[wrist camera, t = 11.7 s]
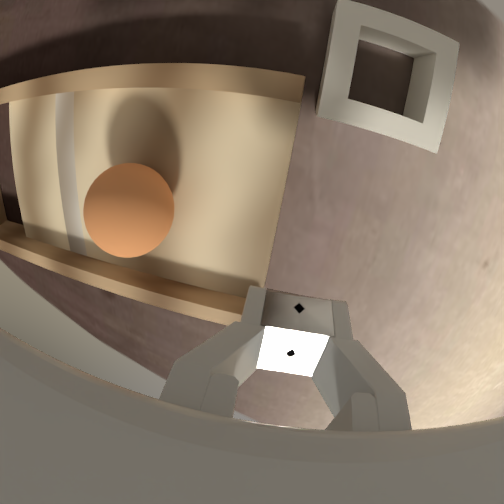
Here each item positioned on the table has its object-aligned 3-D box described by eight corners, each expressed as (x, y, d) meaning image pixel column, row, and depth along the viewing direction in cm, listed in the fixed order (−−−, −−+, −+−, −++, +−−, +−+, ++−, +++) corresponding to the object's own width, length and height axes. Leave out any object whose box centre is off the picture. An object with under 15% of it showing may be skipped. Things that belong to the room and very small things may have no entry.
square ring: (434, 48, 8) (459, 42, 6) (415, 141, 11) (436, 154, 9) (332, 14, 9) (338, -3, 7) (315, 112, 11) (317, 116, 9)
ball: (196, 170, 11) (96, 190, 8) (190, 257, 13) (108, 289, 10) (149, 148, 13) (70, 162, 10) (148, 221, 15) (79, 242, 12)
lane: (305, 79, 10) (304, 73, 7) (261, 300, 17) (248, 353, 14) (-13, 94, 12) (-52, 107, 9) (4, 228, 19) (-26, 251, 15)
